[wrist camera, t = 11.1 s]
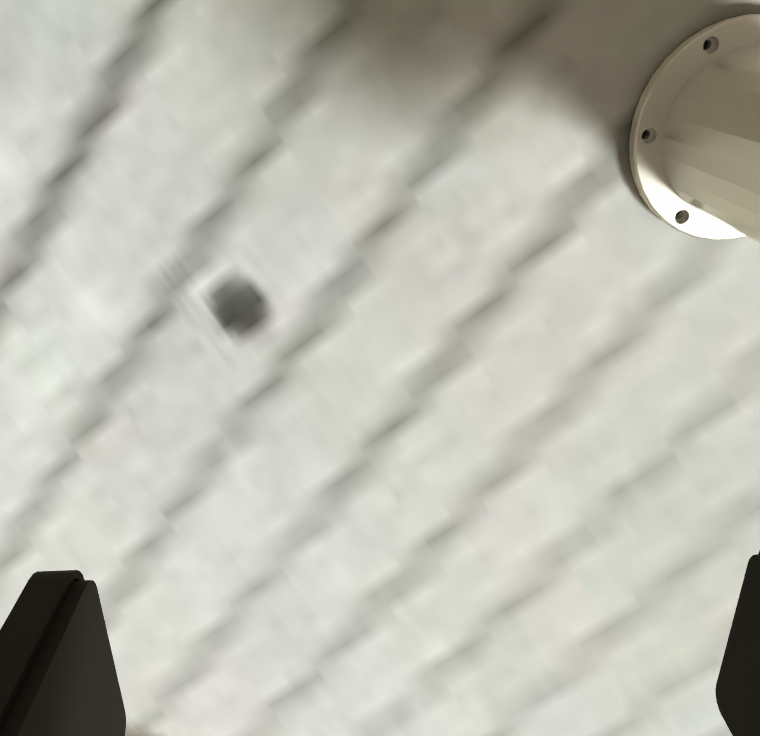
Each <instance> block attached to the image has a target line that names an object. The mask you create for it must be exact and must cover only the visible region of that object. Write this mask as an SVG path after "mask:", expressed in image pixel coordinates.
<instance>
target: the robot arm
mask: <svg viewBox="0 0 760 736" xmlns="http://www.w3.org/2000/svg"><path fill="white" fill-rule="evenodd" d="M705 40H707V42H708V45H707V47H706V48H705V49H704V50H703V44H704V42H705ZM645 130H646V131H647V135H646V137H645V138H642V137H641V136H642V133H643V131H645ZM629 161H630V166H631V171H632V175H633V180H634V182H635V184H636V187H637V189H638V191H639V194H640V196H641V197H642V199H643V200H644V202H645V203H646V204H647V206H648V207H649V209H650V210H651V211H652V212H653V213H654V214H655V215H656V216H658V217H659V218H660V219H661V220H662V221H663V222H665V223H666V224H668V225H669V226H671V227H672V228H674V229H676V230H678V231H680V232H683V233H685V234H688V235H690V236H693V237H697V238H703V239H708V240H731V239H736V238H741V237H746V236H748V237H750V238H752V239H754V240H755V241H757V242H759V243H760V14H746V15H742V16H737V17H733V18H728V19H724V20H722V21H720V22H717V23H715V24H713V25H710V26H708V27H706V28H704V29H702V30H701V31H699V32H698V33H696V34H695V35H693V36H691V37H690V38H688V39H687V40H685V41H684V42H683V43H682V44H681V45H680V46H679V47H677V48H676V49H675V50H674V51H673V52H672V53H671V54H670V55H669V56H668V57H667V58H666V59H665V60H664V62H663V63H662V64H661V65H660V67H659V68H658V69H657V70H656V72H655V73H654V74H653V76H652V77H651V79H650V81H649V83H648V84H647V86H646V88H645V90H644V92H643V93H642V95H641V97H640V100H639V103H638V105H637V108H636V111H635V114H634V117H633V121H632V127H631V132H630V138H629ZM679 211H680V213H679V215H678V216H677V217H675V216H676V213H677V212H679ZM716 699H717V704H718V707H719V710H720V712H721V715H722V717H723V718H724V720H725V722H726V724H727V726H728V728H729V729H730V731H731V733H732V735H733V736H760V551H759V554H758V555H753V556H752V557H751V558H750V560H749V562H748V565H747V569H746V573H745V577H744V581H743V584H742V588H741V592H740V596H739V600H738V604H737V607H736V611H735V615H734V619H733V623H732V627H731V630H730V634H729V638H728V642H727V646H726V650H725V653H724V657H723V661H722V665H721V669H720V673H719V676H718V680H717V684H716ZM125 729H126V715H125V709H124V705H123V700H122V696H121V691H120V687H119V683H118V678H117V674H116V669H115V665H114V660H113V656H112V652H111V647H110V643H109V638H108V634H107V630H106V625H105V621H104V616H103V612H102V608H101V603H100V599H99V594H98V590H97V586H96V583H95V582H94V581H92V580H86V581H85V580H84V578H83V575H82V573H81V572H80V571H77V570H68V571H42V572H36V573H34V574H33V575H32V576H31V578H30V579H29V580H28V582H27V584H26V586H25V588H24V589H23V591H22V593H21V595H20V596H19V598H18V600H17V602H16V603H15V605H14V607H13V609H12V610H11V612H10V614H9V616H8V618H7V619H6V621H5V623H4V625H3V626H2V628H1V630H0V736H125Z"/></svg>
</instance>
